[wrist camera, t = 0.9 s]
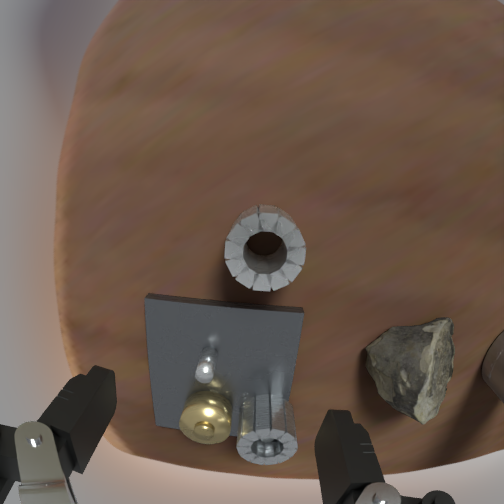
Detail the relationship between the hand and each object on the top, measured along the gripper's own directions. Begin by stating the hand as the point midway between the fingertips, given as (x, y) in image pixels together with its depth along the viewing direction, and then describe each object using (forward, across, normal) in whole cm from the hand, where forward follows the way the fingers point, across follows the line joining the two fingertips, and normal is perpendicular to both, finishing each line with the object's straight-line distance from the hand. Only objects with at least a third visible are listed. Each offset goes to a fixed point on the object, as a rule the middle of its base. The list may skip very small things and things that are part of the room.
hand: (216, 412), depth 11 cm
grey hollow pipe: (+16, -5, +15) cm, 23 cm away
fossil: (+18, -19, +6) cm, 27 cm away
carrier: (+18, 0, +11) cm, 21 cm away
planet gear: (+18, -1, -3) cm, 18 cm away
